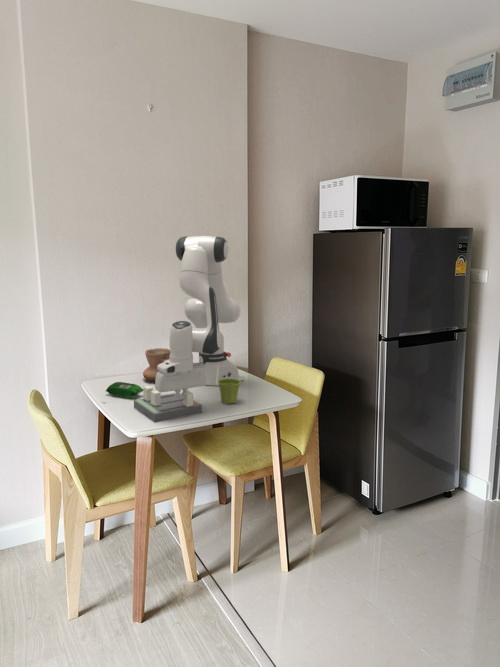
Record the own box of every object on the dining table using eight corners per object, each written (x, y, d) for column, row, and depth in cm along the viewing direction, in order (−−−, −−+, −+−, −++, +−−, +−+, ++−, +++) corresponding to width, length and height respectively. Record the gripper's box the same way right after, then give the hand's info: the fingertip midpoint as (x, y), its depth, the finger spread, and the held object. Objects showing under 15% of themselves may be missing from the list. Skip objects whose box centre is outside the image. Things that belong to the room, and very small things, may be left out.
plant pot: (220, 397, 224) (220, 377, 223) (242, 399, 223) (242, 379, 221) (215, 404, 215) (215, 384, 214) (238, 406, 214) (238, 385, 212)
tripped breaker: (188, 403, 206) (188, 390, 205) (192, 405, 204) (192, 393, 203) (182, 404, 205) (182, 391, 204) (187, 406, 202) (187, 394, 201)
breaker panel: (179, 399, 221) (179, 392, 220) (201, 412, 206) (201, 404, 205) (133, 407, 210) (133, 400, 209) (154, 422, 194) (154, 414, 194)
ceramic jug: (136, 378, 250) (135, 348, 247) (163, 373, 259) (163, 345, 256) (154, 387, 236) (153, 356, 233) (182, 382, 245) (182, 352, 242)
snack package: (135, 401, 218) (135, 389, 217) (104, 395, 224) (104, 383, 223) (145, 396, 224) (145, 384, 223) (114, 391, 230) (114, 379, 229)
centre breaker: (156, 402, 206) (156, 390, 205) (160, 405, 203) (160, 392, 202) (150, 403, 205) (150, 391, 204) (154, 406, 202) (154, 393, 201)
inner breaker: (149, 397, 212) (149, 385, 211) (152, 400, 209) (152, 387, 208) (143, 398, 210) (143, 386, 209) (147, 401, 208) (146, 388, 207)
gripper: (201, 359, 208) (201, 393, 211) (153, 366, 197) (153, 401, 199) (209, 363, 203) (209, 397, 206) (160, 369, 192) (160, 406, 194)
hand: (181, 399), depth 202 cm, fingers closed
